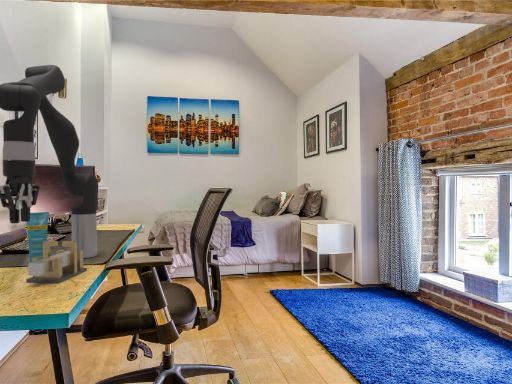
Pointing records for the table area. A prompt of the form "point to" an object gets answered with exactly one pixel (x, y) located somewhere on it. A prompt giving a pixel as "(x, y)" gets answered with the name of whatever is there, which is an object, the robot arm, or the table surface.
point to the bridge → (64, 244)
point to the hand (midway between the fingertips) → (20, 222)
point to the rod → (47, 264)
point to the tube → (37, 233)
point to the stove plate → (65, 276)
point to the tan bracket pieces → (60, 265)
